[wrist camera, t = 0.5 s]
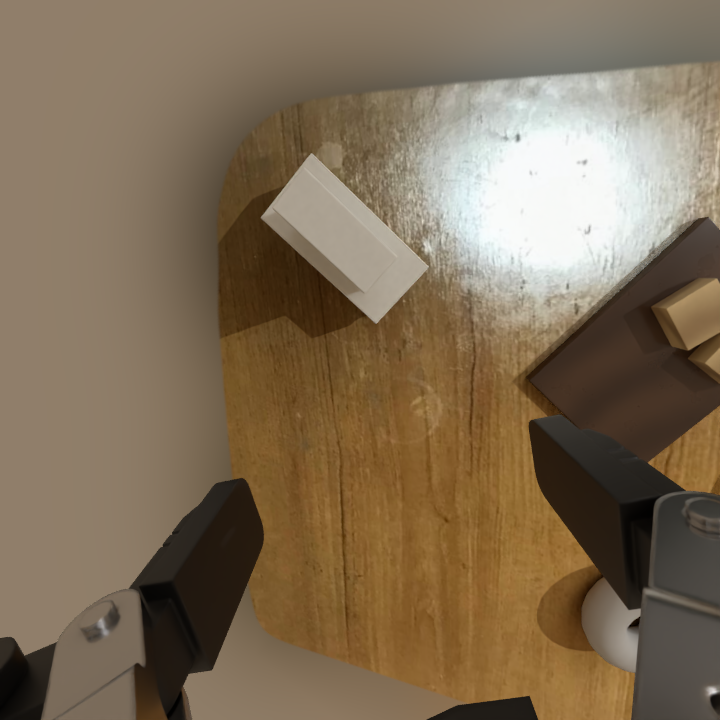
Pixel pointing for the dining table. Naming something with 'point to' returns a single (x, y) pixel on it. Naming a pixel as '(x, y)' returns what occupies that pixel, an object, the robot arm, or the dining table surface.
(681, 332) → the tan flat square block
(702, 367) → the tan square slab
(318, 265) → the white stepped wedge block
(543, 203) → the dining table surface
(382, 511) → the dining table surface
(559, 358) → the board
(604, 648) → the donut
